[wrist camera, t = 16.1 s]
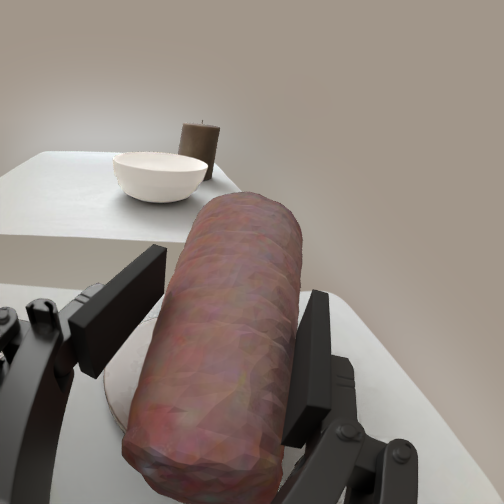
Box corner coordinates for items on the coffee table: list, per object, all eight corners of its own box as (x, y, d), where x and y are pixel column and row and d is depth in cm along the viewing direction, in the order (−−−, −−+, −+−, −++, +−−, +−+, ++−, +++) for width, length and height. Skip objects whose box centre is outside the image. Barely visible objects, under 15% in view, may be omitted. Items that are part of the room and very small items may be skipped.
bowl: (220, 203, 58) (227, 167, 55) (148, 221, 43) (153, 175, 40) (161, 180, 65) (165, 150, 62) (93, 191, 51) (95, 155, 47)
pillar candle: (213, 182, 72) (224, 123, 65) (174, 178, 69) (183, 118, 62) (209, 173, 80) (218, 121, 74) (174, 169, 77) (183, 117, 71)
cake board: (287, 337, 26) (291, 327, 26) (301, 478, 14) (308, 472, 13) (138, 308, 25) (138, 298, 25) (78, 436, 13) (73, 428, 12)
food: (188, 272, 27) (201, 179, 24) (285, 290, 28) (312, 202, 25) (116, 499, 8) (54, 398, 4) (321, 519, 9) (446, 432, 5)
